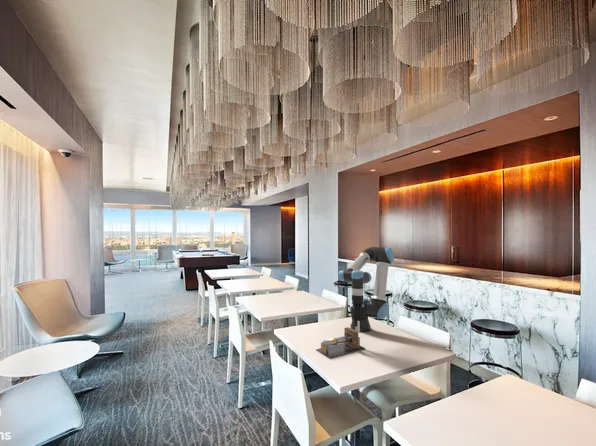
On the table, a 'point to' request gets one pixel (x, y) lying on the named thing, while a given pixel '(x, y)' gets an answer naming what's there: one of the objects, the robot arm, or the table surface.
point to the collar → (354, 336)
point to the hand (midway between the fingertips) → (357, 331)
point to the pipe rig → (338, 347)
